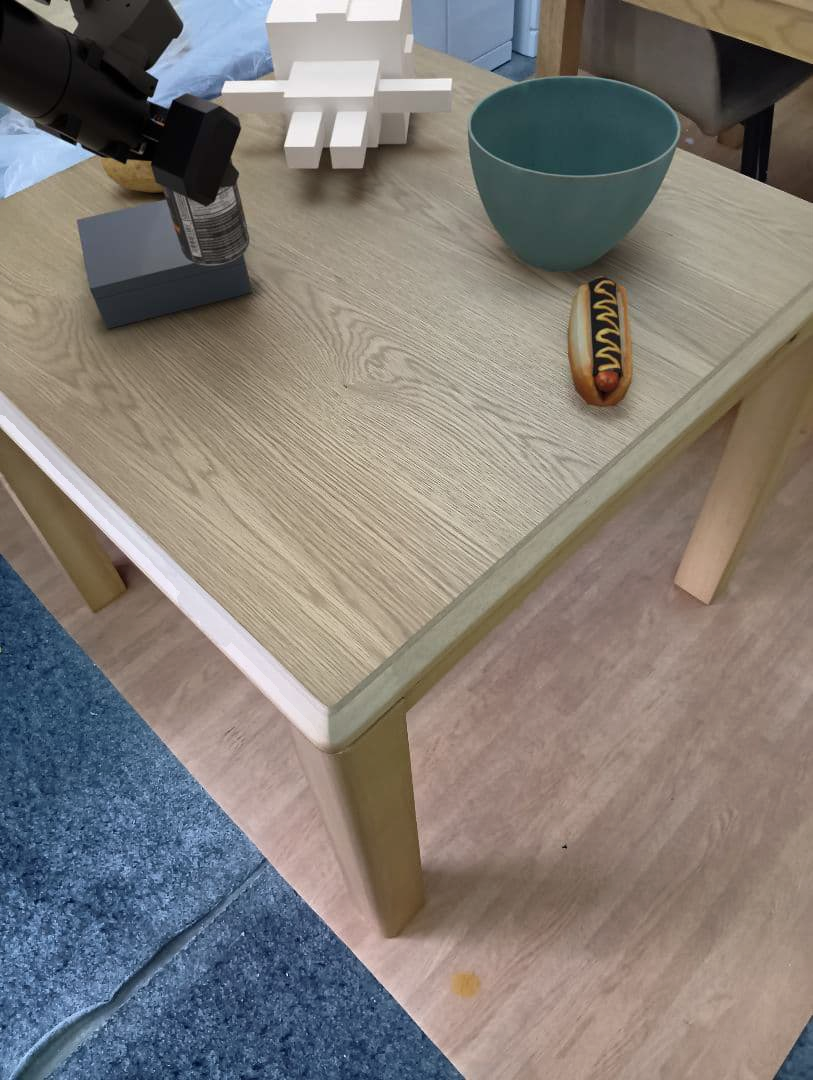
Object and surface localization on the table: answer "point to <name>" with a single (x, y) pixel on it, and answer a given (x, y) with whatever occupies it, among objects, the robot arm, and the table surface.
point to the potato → (132, 174)
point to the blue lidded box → (149, 267)
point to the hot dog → (600, 343)
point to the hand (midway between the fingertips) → (210, 167)
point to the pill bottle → (209, 226)
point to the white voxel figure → (340, 79)
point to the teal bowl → (569, 164)
